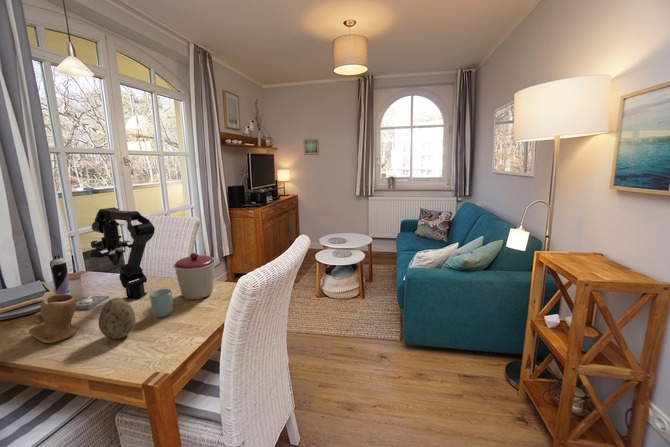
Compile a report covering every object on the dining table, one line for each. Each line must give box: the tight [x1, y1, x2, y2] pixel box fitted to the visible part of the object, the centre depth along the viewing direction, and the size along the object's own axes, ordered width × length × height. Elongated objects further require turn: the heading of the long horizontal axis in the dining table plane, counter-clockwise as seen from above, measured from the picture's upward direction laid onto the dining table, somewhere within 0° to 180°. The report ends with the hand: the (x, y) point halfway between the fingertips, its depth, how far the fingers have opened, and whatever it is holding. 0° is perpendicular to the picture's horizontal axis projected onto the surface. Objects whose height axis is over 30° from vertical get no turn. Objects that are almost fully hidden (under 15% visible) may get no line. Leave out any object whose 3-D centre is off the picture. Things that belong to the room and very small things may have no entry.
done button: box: [81, 298, 93, 304], centre depth 133 cm, size 4×4×2 cm
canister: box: [172, 252, 216, 301], centre depth 143 cm, size 18×18×21 cm
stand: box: [33, 310, 44, 323], centre depth 124 cm, size 7×7×3 cm
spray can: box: [49, 254, 70, 294], centre depth 141 cm, size 6×6×20 cm
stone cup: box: [28, 293, 77, 344], centre depth 110 cm, size 15×12×15 cm
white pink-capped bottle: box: [67, 271, 86, 301], centre depth 137 cm, size 5×5×12 cm
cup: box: [149, 288, 174, 318], centre depth 126 cm, size 8×8×10 cm
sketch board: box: [75, 295, 110, 311], centre depth 136 cm, size 16×12×2 cm
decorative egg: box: [98, 297, 137, 340], centre depth 109 cm, size 11×11×15 cm
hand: (115, 265), depth 146 cm, fingers closed
